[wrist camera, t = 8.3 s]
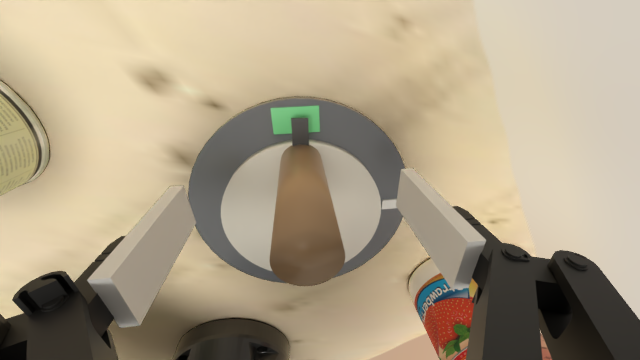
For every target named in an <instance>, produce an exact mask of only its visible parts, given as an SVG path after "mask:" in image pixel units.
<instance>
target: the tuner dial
mask: <svg viewBox="0 0 640 360" xmlns="http://www.w3.org/2000/svg"><path fill="white" fill-rule="evenodd" d="M291 127H292V140H287V141H283V142H278V143H275V144H272V145H270V146H267V147H265V148H263V149H261V150H259V151H257V152H256V153H254V154H253V155H251V156H250V157H248V158H247V159H246V160H245V161H244V162H243V163H242V164H241V165H240V166H239V167H238V169H237V170H236V171H235V172H234V174H233V176H232V177H231V179H230V181H229V183H228V185H227V187H226V190H225V192H224V195H223V198H222V203H221V221H222V226H223V229H224V232H225V234H226V236H227V238H228V240H229V241H230V243H231V244H232V246H233V247H234V248H235V249H236V250H237V251H238V252H239V253H240V254H241V255H242V256H243V257H244V258H246V259H247V260H249V261H250V262H252V263H253V264H255V265H257V266H259V267H261V268H264V269H267V270H270V271H273V273H274V274H275V275H276V276H277V277H278V278H279V279H281V280H282V281H284V282H286V283H289V284H292V285H297V286H312V285H317V284H321V283H323V282H326V281H328V280H330V279H331V278H333V277H334V276H335V275H336V274H337V273H338V272H339V271H340V270H341V269H342V267H343V265H344V263H345V262H347V261H349V260H350V259H352V258H353V257H355V256H356V255H357V254H358V253H359V252H361V251H362V250H363V248H364V247H365V246H366V245H367V244H368V243H369V241H370V240H371V239H372V237H373V235H374V233H375V231H376V229H377V227H378V224H379V220H380V216H381V199H380V195H379V191H378V188H377V186H376V184H375V181H374V180H373V178H372V176H371V175H370V173H369V172H368V170H367V169H366V167H365V166H364V165H363V164H362V163H361V162H360V160H358V159H357V158H356V157H355V156H354V155H352V154H351V153H349V152H348V151H346V150H344V149H343V148H340V147H338V146H336V145H334V144H330V143H327V142H324V141H318V140H311V139H309V130H308V118H291Z"/></svg>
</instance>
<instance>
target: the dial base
mask: <svg viewBox="0 0 640 360" xmlns="http://www.w3.org/2000/svg"><path fill="white" fill-rule="evenodd" d="M291 118H308V130H309V139H311V140H318V141H324V142H327V143H330V144H334V145H336V146H338V147H340V148H343V149H344V150H346V151H348V152H349V153H351V154H352V155H354V156H355V157H356V158H357V159H358V160H360V162H361V163H362V164H363V165H364V166H365V167H366V169H367V170H368V172H369V173H370V175H371V176H372V178H373V180H374V181H375V184H376V186H377V188H378V191H379V195H380V199H381V216H380V220H379V224H378V227H377V229H376V231H375V233H374V235H373V237H372V239H371V240H370V241H369V243H368V244H367V245H366V246H365V247H364V248H363V250H362V251H361V252H359V253H358V254H357V255H356V256H355V257H353V258H352V259H350V260H349V261H347V262H345V263H344V265H343V267H342V269H341V270H340V271H339V272H338V273H337V274H336V275H335V276H334V277H337V276H340V275H343V274H345V273H347V272H350V271H352V270H354V269H356V268H357V267H359V266H361V265H363V264H364V263H366V262H367V261H368V260H370V259H371V258H373V257H374V256H375V255H376V254H377V253H378V252H379V251H381V249H382V248H383V247H384V246H385V245H386V244H387V243H388V242H389V240H390V239H391V238H392V236H393V235H394V234H395V232H396V230H397V228H398V226H399V225H400V222H401V220H402V217H403V216H402V214H401V213H400V211H399V210H398V208H397V207H396V202H397V194H398V187H399V180H400V173H401V169H405V166H404V164H403V161H402V159H401V156H400V154H399V152H398V151H397V149H396V147H395V146H394V144H393V143H392V141H391V140H390V139H389V138H388V137H387V135H386V134H385V133H384V132H383V131H382V130H381V129H380V128H379V127H378V126H377V125H375V124H374V123H373V122H372V121H371V120H370V119H369V118H367V117H365V116H364V115H362V114H361V113H359V112H358V111H356V110H354V109H352V108H350V107H348V106H345V105H343V104H340V103H337V102H334V101H330V100H327V99H320V98H314V97H287V98H279V99H274V100H270V101H267V102H263V103H260V104H257V105H255V106H253V107H250V108H248V109H246V110H244V111H242V112H241V113H239V114H237V115H236V116H234V117H232V118H231V119H230V120H229V121H227V122H226V123H225V124H224V125H223V126H221V127H220V128H219V129H218V130H217V132H216V133H215V134H214V135H213V136H212V137H211V138H210V139H209V140H208V142H207V143H206V144H205V146H204V147H203V149H202V150H201V152H200V153H199V155H198V157H197V159H196V162H195V164H194V166H193V168H192V173H191V177H190V181H189V192H188V196H189V203H190V206H191V209H192V212H193V215H194V218H195V221H196V224H195V226H196V228H197V230H198V232H199V234H200V235H201V237H202V238H203V240H204V241H205V243H206V244H207V245H208V246H209V247H210V249H211V250H212V251H213V252H214V253H216V254H217V255H218V256H219V257H220V258H221V259H222V260H224V261H225V262H227V263H228V264H229V265H231V266H233V267H234V268H236V269H238V270H240V271H242V272H244V273H246V274H249V275H251V276H254V277H257V278H260V279H264V280H269V281H273V282H281V283H286V282H284V281H282V280H281V279H279V278H278V277H277V276H276V275H275V274H274V273H273V271H270V270H267V269H264V268H261V267H259V266H257V265H255V264H253V263H252V262H250V261H249V260H247V259H246V258H244V257H243V256H242V255H241V254H240V253H239V252H238V251H237V250H236V249H235V248H234V247H233V246H232V244H231V243H230V241H229V240H228V238H227V236H226V234H225V232H224V229H223V226H222V221H221V203H222V198H223V195H224V192H225V190H226V187H227V185H228V183H229V181H230V179H231V177H232V176H233V174H234V172H235V171H236V170H237V169H238V167H239V166H240V165H241V164H242V163H243V162H244V161H245V160H246V159H247V158H248V157H250V156H251V155H253V154H254V153H256V152H257V151H259V150H261V149H263V148H265V147H267V146H270V145H272V144H275V143H278V142H283V141H287V140H292V127H291ZM334 277H333V278H334Z"/></svg>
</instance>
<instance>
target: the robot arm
mask: <svg viewBox="0 0 640 360" xmlns="http://www.w3.org/2000/svg"><path fill="white" fill-rule="evenodd" d="M396 207H397V208H398V210H399V211H400V213H401V214H402V216H403V217H404V219H405V220H406V222H407V223H408V225H409V226H410V228H411V229H412V231H413V232H414V234H415V235H416V237H417V238H418V240H419V241H420V242H421V244H422V245H423V247H424V248H425V250H426V251H427V253H428V254H429V256H430V257H431V259H432V260H433V262H434V263H435V265H436V266H437V268H438V269H439V271H440V272H441V274H442V275H443V277H444V278H445V280H446V281H447V283H448V284H449V286H450V287H451V289H452V290H454V289H463V288H469V285H470V283H471V280H472V278H473V280H474V281H475V282H476V283H477V285H478V287H477V290H476V292H475V295H474V297H473V300H472V303H474V307H473V314H472V321H471V328H470V334H469V341H468V348H467V354H466V360H543V359H542V348H541V337H540V330H541V333H542V335H543V338H544V340H545V343H546V345H547V348H548V350H549V353H550V355H551V358H552V360H640V320H639V319H638V317H637V316H636V315H635V313H634V312H633V311H632V310H631V308H630V307H629V306H628V304H626V302H625V301H624V299H623V298H622V297H621V295H620V294H619V293H618V292H617V290H616V289H615V288H614V286H613V285H612V284H611V283H610V281H609V280H608V279H607V278H606V276H605V275H604V274H603V272H602V271H601V270H600V268H599V267H598V266H597V265H596V264H595V263H594V262H592V261H591V260H589V259H587V258H586V257H584V256H582V255H580V254H577V253H573V252H569V251H562V250H560V251H556V252H555V253H554V254H553V256H552V258H551V259H545V258H538V257H531V256H530V255H529V254H528V253H527V252H526V251H524V250H523V249H521V248H520V247H517V246H515V245H512V244H507V243H501V242H500V241H499V240H498V239H497V238H496V237H495V236H494V235H493V234H492V233H491V232H489V231H488V230H487V229H486V228H485V227H484V226H483V225H481V223H480V222H479V221H478V220H476V219H475V218H474V217H473V216H472V215H471V214H470V213H469V212H468V211H466V210H464V209H462V208H460V207H458V206H454V207H452V206H451V205H450V204H449V203H448V202H447V201H446V200H445V199H444V198H443V197H442V196H441V195H440V194H439V193H438V192H437V191H436V190H435V189H434V188H432V187H431V186H430V185H429V184H428V183H427V182H426V181H425V180H424V179H423V178H422V177H421V176H420V175H419V174H418V173H417V172H416V171H415V170H414V169H413V168H409V169H401V173H400V180H399V187H398V194H397V202H396ZM195 224H196V221H195V218H194V215H193V212H192V209H191V206H190V203H189V200H188V197H187V194H186V191H185V188H184V185H181V186H170V187H169V188H168V189H167V190H166V191H165V193H164V194H163V195H162V196H161V197H160V198H159V199H158V200H157V202H156V203H155V204H154V205H153V206H152V207H151V208H150V209H149V211H148V212H147V213H146V214H145V215H144V216H143V217H142V218H141V220H140V221H139V222H138V223H137V224H136V225H135V226H134V228H133V229H132V230H131V231H130V232H129V233H128V234H127V235H126V236H121V237H120V238H118V239H117V240H115V241H114V242H112V243H111V244H110V245H109V246H108V247H107V248H106V249H105V250H104V251H103V252H102V254H101V255H99V256H98V257H97V258H96V260H95V262H93V263H92V264H91V265H90V266H89V267H88V268H87V269H86V270H85V271H84V272H83V274H82V275H81V276H80V277H79V278H78V279H77V280H76V281H75V282H73V281H72V280H71V278H70V277H69V276H68V274H67V273H66V272H63V271H57V272H51V273H48V274H45V275H43V276H40V277H38V278H36V279H34V280H32V281H31V282H29V283H28V284H26V285H25V286H23V287H22V288H21V289H20V290H19V291H18V292H17V293H16V294H15V295H14V297H13V301H14V302H15V304H16V305H17V306H18V307H19V308H20V309H21V310H22V311H23V312H24V314H20V315H17V316H14V317H11V318H8V319H5V318H4V317H3V316H2V315H1V314H0V360H118V357H117V353H116V350H115V346H114V343H113V339H112V335H111V333H110V331H109V330H108V329H107V328H108V326H109V325H110V323H111V322H112V320H113V319H114V320H115V321H116V323H117V324H118V326H119V327H120V328H123V327H131V326H140V325H141V323H142V321H143V319H144V317H145V316H146V314H147V312H148V310H149V308H150V306H151V305H152V303H153V301H154V299H155V297H156V296H157V294H158V292H159V290H160V288H161V286H162V285H163V283H164V281H165V279H166V277H167V275H168V274H169V272H170V270H171V268H172V266H173V264H174V263H175V261H176V259H177V257H178V255H179V254H180V252H181V250H182V248H183V246H184V244H185V243H186V241H187V239H188V237H189V235H190V233H191V232H192V230H193V228H194V226H195ZM172 360H289V343H288V341H287V339H286V337H285V336H284V335H283V334H282V333H281V332H280V331H278V330H277V329H275V328H273V327H271V326H269V325H267V324H264V323H261V322H257V321H252V320H244V319H225V320H217V321H212V322H209V323H205V324H202V325H200V326H197V327H195V328H194V329H192V330H190V331H189V332H187V333H186V334H185V335H184V336H183V337H182V338H181V340H180V342H179V344H178V346H177V349H176V352H175V354H174V357H173V359H172Z"/></svg>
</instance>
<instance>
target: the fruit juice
mask: <svg viewBox="0 0 640 360" xmlns="http://www.w3.org/2000/svg"><path fill="white" fill-rule="evenodd" d="M477 287H478V285H477V283H476V282H475V281H474V280H473V278H472V280H471V283H470V285H469V288H463V289H454V290H452V289H451V287H450V286H449V284H448V283H447V281H446V280H445V278H444V277H443V275H442V274H441V272H440V271H439V269H438V268H437V266H436V265H435V263H434V262H433V260H432V259H429V260H427V261H426V262H424V263H423V264H421V265H420V266H419V267H418V268H417V269H416V270H415V271H414V273H413V274H412V276H411V278H410V280H409V293H410V296H411V299H412V301H413V303H414V306H415V308H416V310H417V312H418V314H419V316H420V318H421V321H422V323H423V325H424V327H425V329H426V331H427V333H428V335H429V338H430V340H431V342H432V344H433V346H434V348H435V350H436V353H437V355H438V357H439V359H440V360H466V354H467V348H468V341H469V334H470V328H471V321H472V314H473V307H474V303H472V300H473V297H474V295H475V292H476V290H477ZM540 337H541V348H542V359H543V360H552V358H551V355H550V353H549V350H548V348H547V345H546V343H545V340H544V338H543V336H542V334H541V333H540Z"/></svg>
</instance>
